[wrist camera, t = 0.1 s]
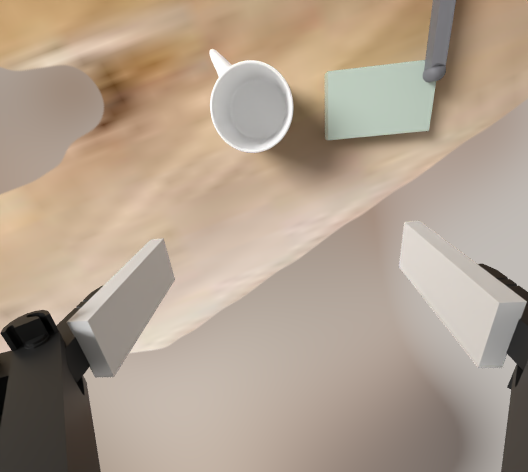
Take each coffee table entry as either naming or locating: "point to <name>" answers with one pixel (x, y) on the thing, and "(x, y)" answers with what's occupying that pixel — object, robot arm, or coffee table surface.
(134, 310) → the robot arm
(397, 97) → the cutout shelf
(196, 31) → the coffee table surface
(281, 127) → the mug
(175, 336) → the coffee table surface
